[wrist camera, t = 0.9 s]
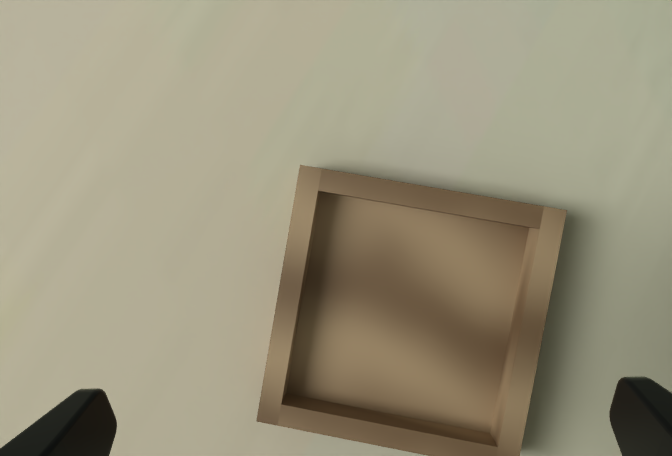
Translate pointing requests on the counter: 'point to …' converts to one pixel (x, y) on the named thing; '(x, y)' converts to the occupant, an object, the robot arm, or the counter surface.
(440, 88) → the counter surface
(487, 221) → the tray
